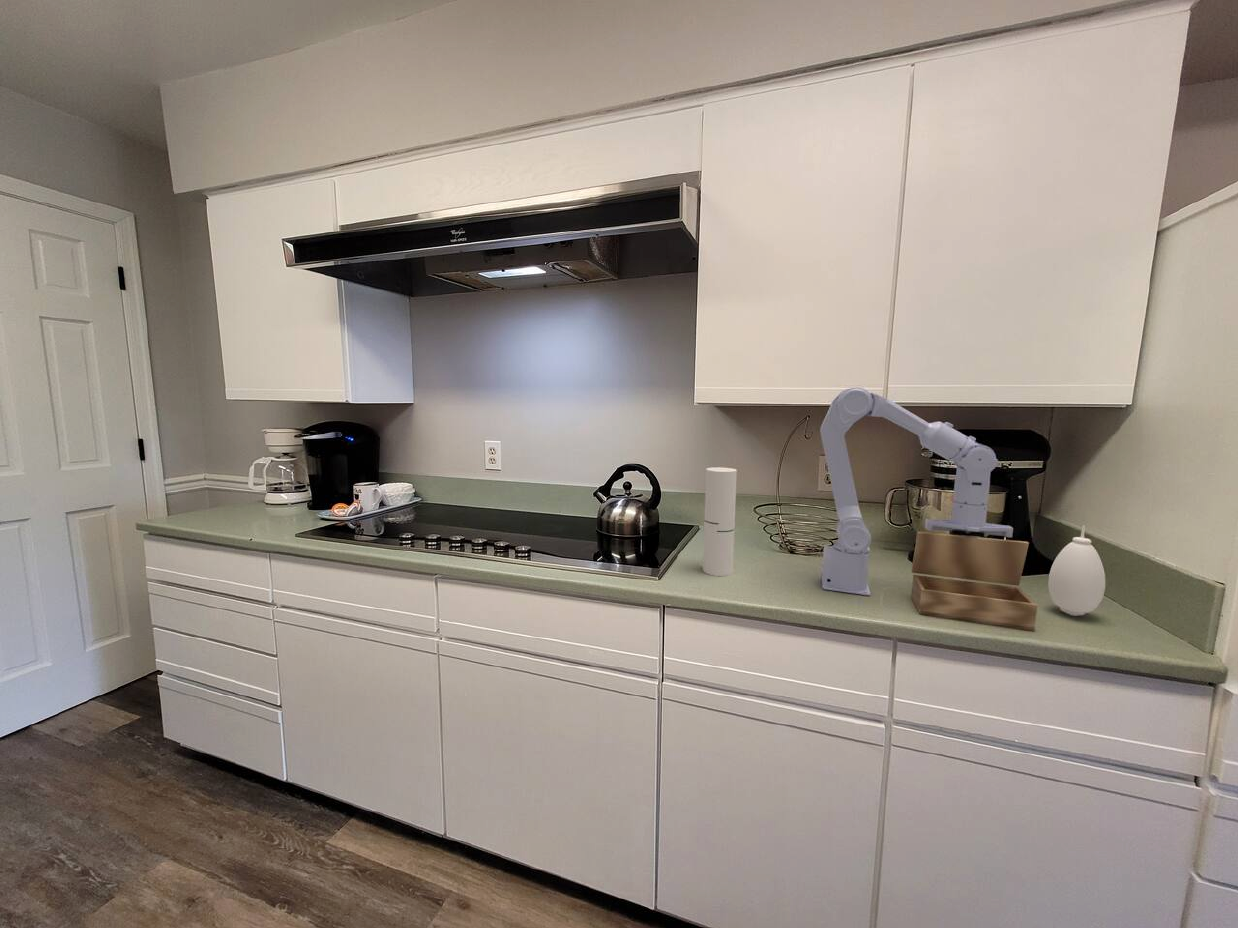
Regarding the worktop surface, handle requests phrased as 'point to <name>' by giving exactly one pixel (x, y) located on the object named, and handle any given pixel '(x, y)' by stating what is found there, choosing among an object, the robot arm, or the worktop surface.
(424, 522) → the worktop surface
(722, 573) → the cylindrical container
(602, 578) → the worktop surface
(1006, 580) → the lid
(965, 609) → the box
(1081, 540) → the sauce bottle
